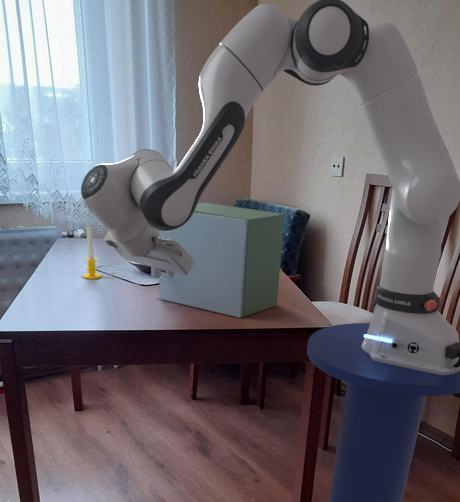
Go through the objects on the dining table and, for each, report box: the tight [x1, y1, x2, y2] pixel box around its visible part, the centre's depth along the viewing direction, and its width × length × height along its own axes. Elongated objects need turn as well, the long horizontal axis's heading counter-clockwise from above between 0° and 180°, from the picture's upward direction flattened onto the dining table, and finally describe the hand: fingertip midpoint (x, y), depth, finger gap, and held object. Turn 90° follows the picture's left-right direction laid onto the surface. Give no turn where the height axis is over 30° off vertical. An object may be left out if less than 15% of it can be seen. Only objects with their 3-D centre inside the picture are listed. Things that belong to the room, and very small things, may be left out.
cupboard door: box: [150, 213, 248, 319], centre depth 139 cm, size 6×26×24 cm, turn 58°
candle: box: [82, 225, 102, 280], centre depth 167 cm, size 5×5×16 cm
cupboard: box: [194, 202, 286, 318], centre depth 149 cm, size 16×26×24 cm, turn 53°
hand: (169, 274), depth 128 cm, fingers closed
